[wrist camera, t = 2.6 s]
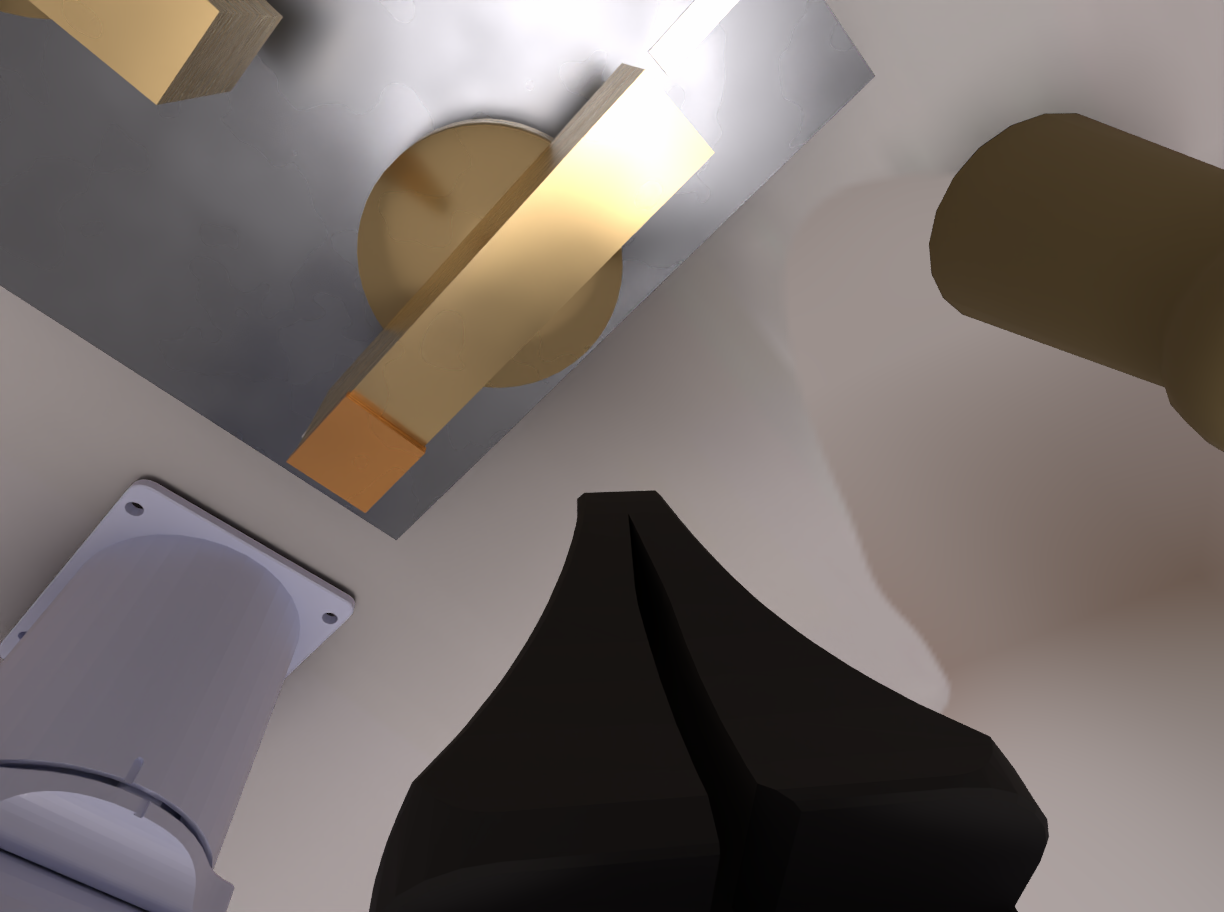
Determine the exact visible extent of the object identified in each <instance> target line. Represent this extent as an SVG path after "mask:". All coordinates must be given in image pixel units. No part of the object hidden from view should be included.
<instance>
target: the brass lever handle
mask: <svg viewBox="0 0 1224 912" xmlns="http://www.w3.org/2000/svg"><path fill="white" fill-rule="evenodd" d="M0 11H1V12H5V13H10V14H14V15H19V16H23V17H29V18H41V19H52V20H53V21H54V22H56V23H57V24H58V25H59V26H60V27H62V28H63V29H64V30H65V31H67V32H68V33H69V34H70V35H71V36H73V37H74V38H75V39H76V40H78V41H79V42H80V43H81V44H82V45H84V46H85V47H86V48H87V49H89V50H90V51H91V52H92V53H93V54H95V55H96V56H97V57H98V58H100V59H101V60H102V61H103V62H104V63H106V64H107V65H108V66H109V67H111V68H112V69H113V70H114V71H115V72H117V73H118V74H119V75H120V76H122V77H123V78H124V79H125V80H126V81H128V82H129V83H130V84H131V85H133V86H134V87H135V88H136V89H137V90H139V91H140V92H141V93H142V94H144V95H145V96H146V97H147V98H148V99H150V100H151V101H152V102H153V103H155V104H156V105H159V104H165V103H170V102H175V101H181V100H186V99H192V98H197V97H203V96H208V95H214V94H219V93H225V92H230V91H231V90H232V89H233V87H234V86H235V84H236V83H237V82H238V80H239V79H240V77H241V76H242V74H243V73H244V72H245V70H246V69H247V67H248V66H249V65H250V63H251V62H252V60H253V59H254V57H255V56H256V55H257V53H258V52H259V50H260V49H261V48H262V46H263V45H264V43H265V42H266V41H267V39H268V38H269V36H270V35H271V33H272V32H273V31H274V29H275V28H276V26H277V25H278V24H279V22H280V21H281V19H282V18H283V16H282V15H281V14H280V13H278V12H277V11H276V10H275V9H274V8H273V7H272V6H271V5H270V4H269V3H268V2H267V1H266V0H0Z"/></svg>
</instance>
